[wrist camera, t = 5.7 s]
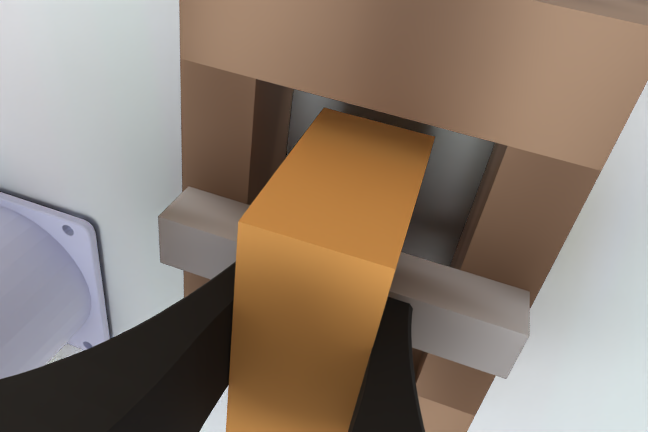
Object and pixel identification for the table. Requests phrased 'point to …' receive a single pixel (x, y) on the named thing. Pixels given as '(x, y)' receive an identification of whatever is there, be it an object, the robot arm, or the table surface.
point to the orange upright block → (319, 272)
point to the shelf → (425, 107)
